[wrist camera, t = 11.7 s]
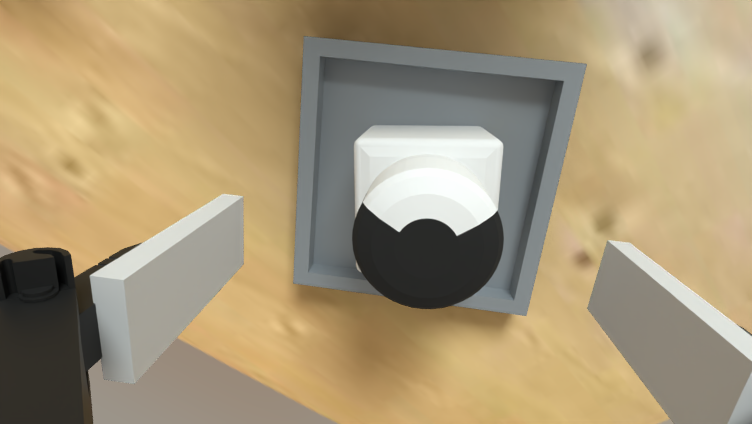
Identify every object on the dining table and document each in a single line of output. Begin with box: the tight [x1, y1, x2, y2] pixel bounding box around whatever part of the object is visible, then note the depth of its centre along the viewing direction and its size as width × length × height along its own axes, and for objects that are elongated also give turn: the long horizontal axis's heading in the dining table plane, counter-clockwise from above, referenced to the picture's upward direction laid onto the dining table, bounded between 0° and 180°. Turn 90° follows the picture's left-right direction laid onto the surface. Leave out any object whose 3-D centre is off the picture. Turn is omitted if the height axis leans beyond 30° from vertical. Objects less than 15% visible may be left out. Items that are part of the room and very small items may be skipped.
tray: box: [293, 36, 587, 316], centre depth 27 cm, size 16×16×2 cm
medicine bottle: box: [352, 125, 504, 309], centre depth 22 cm, size 7×7×12 cm
